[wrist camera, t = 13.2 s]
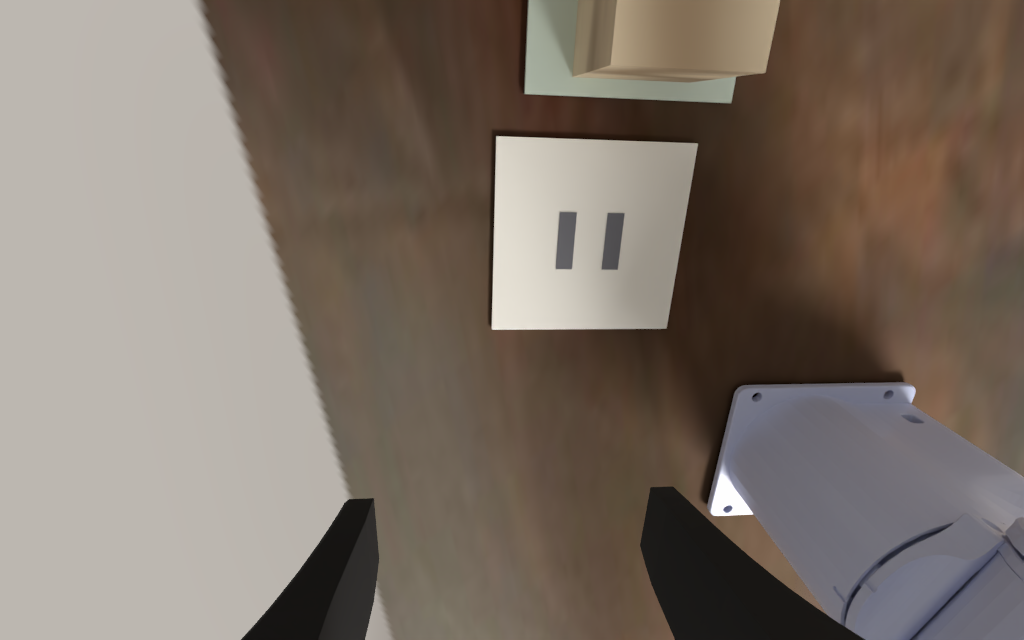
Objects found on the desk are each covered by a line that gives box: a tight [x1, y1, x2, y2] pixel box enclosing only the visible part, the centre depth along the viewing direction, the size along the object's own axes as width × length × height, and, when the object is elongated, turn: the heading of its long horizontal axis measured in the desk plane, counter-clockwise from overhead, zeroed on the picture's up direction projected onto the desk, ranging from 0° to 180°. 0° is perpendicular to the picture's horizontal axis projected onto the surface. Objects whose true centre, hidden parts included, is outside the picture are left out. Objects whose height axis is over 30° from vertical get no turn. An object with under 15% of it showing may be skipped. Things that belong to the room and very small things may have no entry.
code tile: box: [492, 136, 698, 330], centre depth 21 cm, size 8×8×1 cm
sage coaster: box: [524, 0, 736, 103], centre depth 18 cm, size 8×6×1 cm
